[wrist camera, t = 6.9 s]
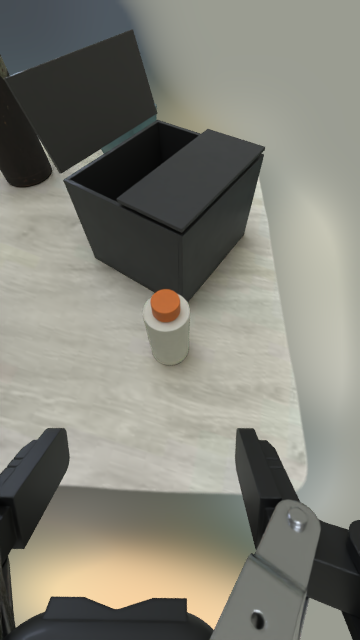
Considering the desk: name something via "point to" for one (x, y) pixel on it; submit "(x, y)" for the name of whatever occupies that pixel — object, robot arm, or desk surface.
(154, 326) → the orange-capped white cylinder
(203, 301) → the desk surface
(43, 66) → the flap
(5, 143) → the container
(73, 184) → the carton
